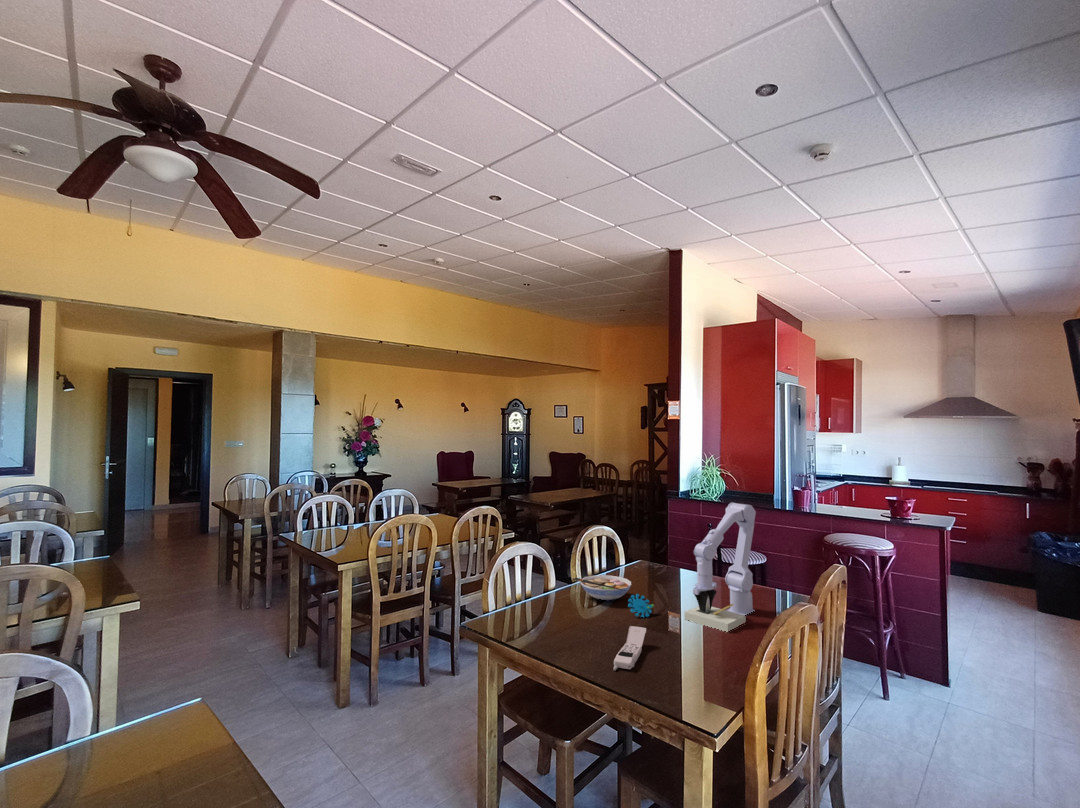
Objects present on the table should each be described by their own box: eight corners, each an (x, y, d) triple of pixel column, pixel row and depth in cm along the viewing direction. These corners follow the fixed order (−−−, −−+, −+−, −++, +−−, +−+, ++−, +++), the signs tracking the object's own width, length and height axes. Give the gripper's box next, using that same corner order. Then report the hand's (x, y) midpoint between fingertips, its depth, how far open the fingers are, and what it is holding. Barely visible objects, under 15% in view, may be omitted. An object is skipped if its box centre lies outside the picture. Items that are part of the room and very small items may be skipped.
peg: (703, 613, 205) (702, 592, 206) (711, 615, 203) (710, 594, 203) (698, 615, 203) (697, 594, 204) (707, 617, 200) (706, 595, 201)
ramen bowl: (643, 598, 228) (643, 580, 229) (615, 611, 211) (615, 591, 212) (597, 587, 245) (597, 570, 245) (567, 598, 228) (567, 579, 228)
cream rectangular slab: (703, 611, 211) (703, 604, 211) (745, 623, 198) (745, 615, 198) (684, 619, 202) (684, 611, 202) (727, 632, 188) (727, 624, 189)
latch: (713, 614, 199) (713, 613, 199) (717, 613, 201) (717, 611, 201) (729, 606, 194) (728, 605, 194) (733, 605, 196) (732, 603, 196)
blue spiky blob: (631, 615, 201) (626, 592, 209) (626, 622, 205) (621, 599, 212) (657, 617, 204) (651, 594, 211) (651, 624, 207) (646, 601, 215)
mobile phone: (647, 627, 178) (629, 654, 155) (647, 645, 177) (630, 675, 154) (629, 625, 180) (610, 651, 157) (630, 642, 180) (610, 671, 157)
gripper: (705, 569, 212) (705, 603, 211) (685, 575, 202) (686, 611, 201) (721, 572, 206) (721, 607, 206) (702, 579, 197) (702, 615, 196)
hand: (705, 609), depth 203 cm, fingers closed on peg, 4 cm apart
